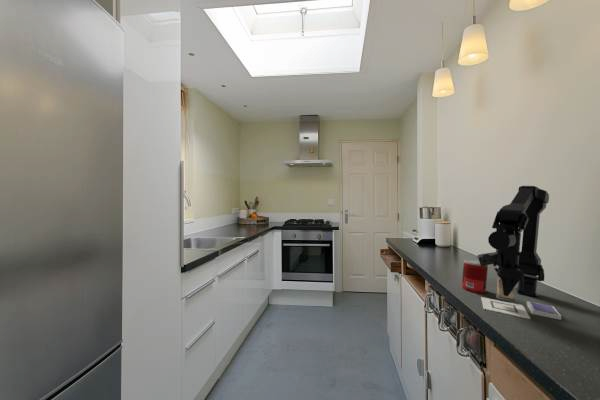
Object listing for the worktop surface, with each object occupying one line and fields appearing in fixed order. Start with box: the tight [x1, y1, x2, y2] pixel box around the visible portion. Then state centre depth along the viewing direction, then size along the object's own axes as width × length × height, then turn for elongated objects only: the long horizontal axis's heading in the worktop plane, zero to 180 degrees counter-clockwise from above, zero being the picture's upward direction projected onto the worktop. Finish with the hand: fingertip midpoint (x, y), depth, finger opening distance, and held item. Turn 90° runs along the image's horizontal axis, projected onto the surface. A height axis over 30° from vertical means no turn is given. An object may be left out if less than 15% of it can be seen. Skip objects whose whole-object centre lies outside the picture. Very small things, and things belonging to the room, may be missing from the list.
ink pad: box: [526, 300, 562, 321], centre depth 94 cm, size 9×7×1 cm
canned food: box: [461, 259, 489, 294], centre depth 113 cm, size 8×8×11 cm
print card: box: [480, 296, 531, 320], centre depth 96 cm, size 12×12×1 cm
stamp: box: [495, 277, 515, 303], centre depth 96 cm, size 4×4×7 cm
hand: (504, 293), depth 96 cm, fingers closed on stamp, 4 cm apart
